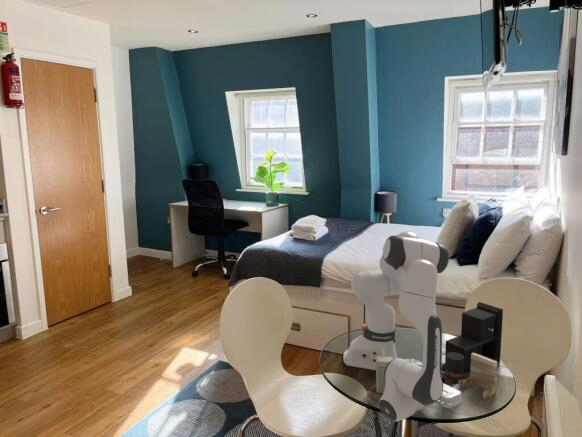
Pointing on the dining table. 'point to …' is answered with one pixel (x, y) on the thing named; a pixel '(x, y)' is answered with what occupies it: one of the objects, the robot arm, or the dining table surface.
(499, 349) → the bookend
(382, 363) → the skincare box
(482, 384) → the rack
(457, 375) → the deodorant
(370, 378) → the dining table surface
